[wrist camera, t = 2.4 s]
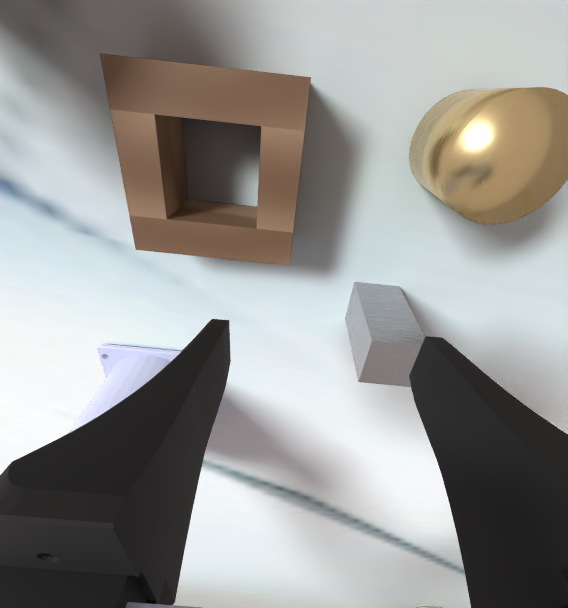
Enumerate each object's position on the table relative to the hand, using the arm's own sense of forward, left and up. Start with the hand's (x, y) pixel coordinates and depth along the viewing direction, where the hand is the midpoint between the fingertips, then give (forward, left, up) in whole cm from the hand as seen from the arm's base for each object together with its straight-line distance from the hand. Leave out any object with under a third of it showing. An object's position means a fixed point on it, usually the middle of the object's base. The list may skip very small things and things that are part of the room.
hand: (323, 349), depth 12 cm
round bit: (+6, -6, -10) cm, 13 cm away
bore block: (+4, +6, -9) cm, 12 cm away
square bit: (-4, -4, -9) cm, 11 cm away
